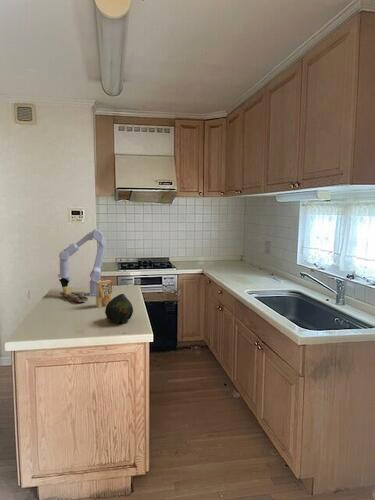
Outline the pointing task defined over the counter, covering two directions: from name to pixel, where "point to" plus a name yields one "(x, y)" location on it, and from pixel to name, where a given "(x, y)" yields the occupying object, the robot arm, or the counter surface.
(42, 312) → the counter surface
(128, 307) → the squash
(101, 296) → the candy box
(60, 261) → the robot arm
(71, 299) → the gnarled wood piece
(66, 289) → the rider
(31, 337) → the counter surface
